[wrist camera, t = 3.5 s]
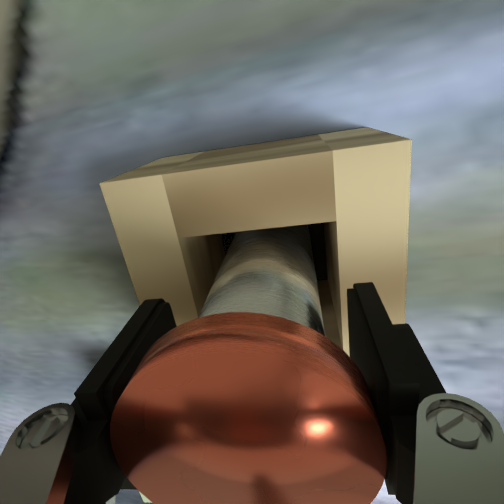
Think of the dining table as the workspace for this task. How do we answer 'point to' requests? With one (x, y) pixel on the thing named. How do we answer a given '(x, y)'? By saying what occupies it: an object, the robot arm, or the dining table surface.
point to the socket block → (269, 216)
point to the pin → (252, 394)
